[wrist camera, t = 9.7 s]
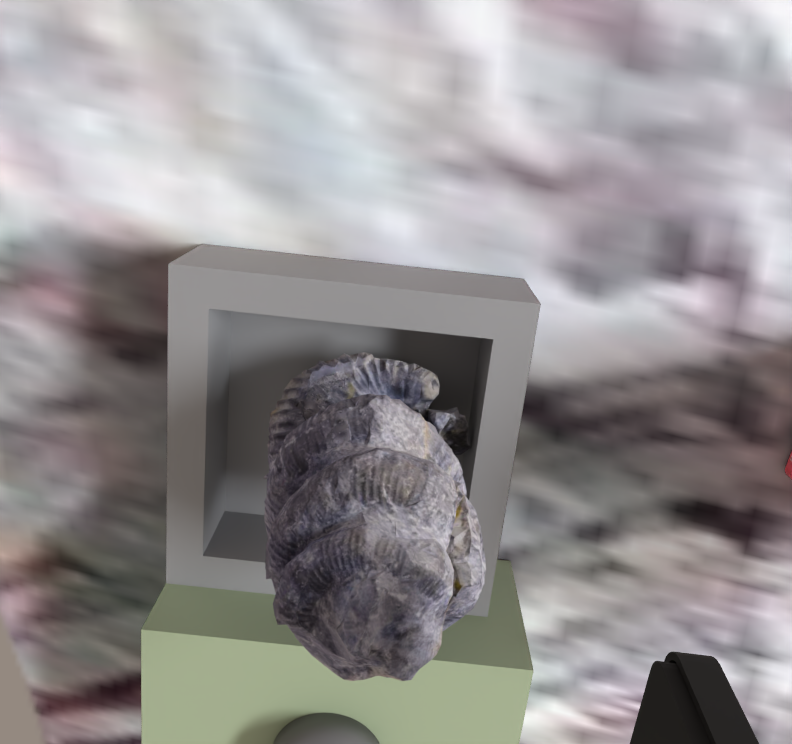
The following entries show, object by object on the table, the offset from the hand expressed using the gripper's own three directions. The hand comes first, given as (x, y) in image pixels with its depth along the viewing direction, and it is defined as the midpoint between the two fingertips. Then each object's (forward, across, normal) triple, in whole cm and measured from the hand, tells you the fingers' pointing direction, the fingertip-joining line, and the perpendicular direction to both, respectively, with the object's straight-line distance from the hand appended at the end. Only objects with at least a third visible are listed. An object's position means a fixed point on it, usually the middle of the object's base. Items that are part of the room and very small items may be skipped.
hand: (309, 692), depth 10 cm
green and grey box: (+12, 0, +5) cm, 13 cm away
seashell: (+12, 0, +1) cm, 12 cm away
